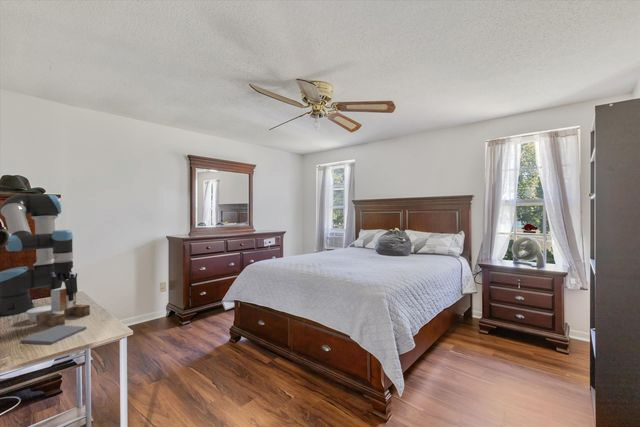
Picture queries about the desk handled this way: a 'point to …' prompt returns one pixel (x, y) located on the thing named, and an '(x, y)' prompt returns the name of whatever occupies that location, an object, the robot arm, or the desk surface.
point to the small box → (60, 299)
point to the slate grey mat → (53, 334)
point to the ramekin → (38, 312)
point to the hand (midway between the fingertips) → (64, 306)
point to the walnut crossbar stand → (62, 316)
